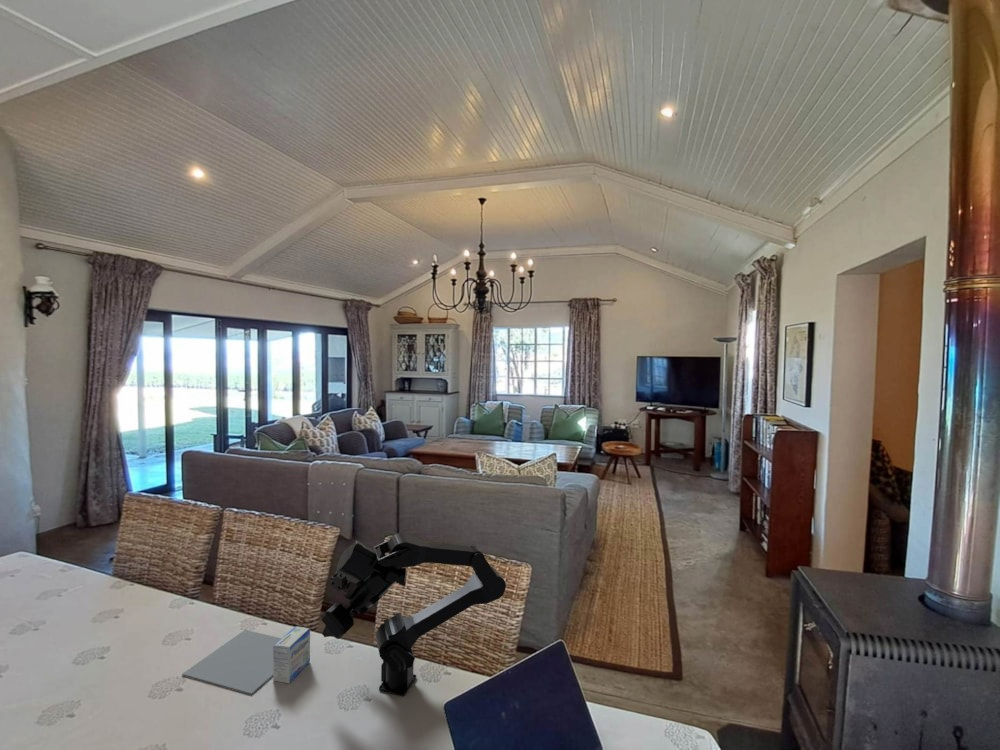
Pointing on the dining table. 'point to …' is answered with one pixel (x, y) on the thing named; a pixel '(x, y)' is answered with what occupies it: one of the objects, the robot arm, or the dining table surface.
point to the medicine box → (291, 654)
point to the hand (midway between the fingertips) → (336, 623)
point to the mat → (238, 663)
